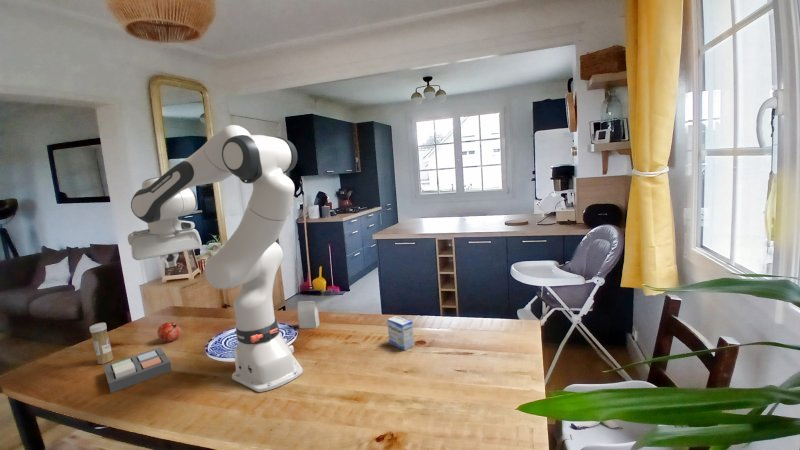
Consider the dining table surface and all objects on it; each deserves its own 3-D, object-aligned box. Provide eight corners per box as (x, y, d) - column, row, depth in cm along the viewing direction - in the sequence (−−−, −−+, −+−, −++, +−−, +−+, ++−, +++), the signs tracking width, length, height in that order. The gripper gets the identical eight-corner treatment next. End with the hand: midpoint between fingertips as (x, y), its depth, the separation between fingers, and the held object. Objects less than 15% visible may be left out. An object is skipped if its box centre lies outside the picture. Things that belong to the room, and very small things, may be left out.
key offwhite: (136, 374, 120) (135, 367, 119) (116, 381, 116) (115, 374, 116) (134, 369, 123) (132, 362, 123) (115, 375, 120) (113, 368, 120)
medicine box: (388, 343, 129) (386, 319, 127) (398, 339, 132) (396, 314, 130) (405, 351, 123) (402, 325, 122) (415, 345, 126) (412, 320, 124)
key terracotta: (163, 368, 124) (161, 361, 124) (144, 375, 121) (143, 368, 121) (160, 363, 128) (158, 356, 128) (142, 369, 125) (140, 362, 124)
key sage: (133, 370, 125) (132, 363, 125) (115, 376, 122) (113, 369, 121) (131, 365, 129) (130, 358, 128) (113, 371, 125) (111, 364, 125)
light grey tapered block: (316, 328, 147) (313, 303, 146) (299, 328, 148) (296, 303, 147) (319, 323, 151) (316, 299, 149) (303, 324, 152) (299, 300, 150)
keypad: (172, 370, 124) (170, 361, 124) (110, 393, 114) (108, 383, 113) (161, 355, 136) (160, 347, 136) (105, 374, 126) (103, 365, 125)
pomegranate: (157, 350, 145) (170, 336, 142) (148, 334, 147) (160, 320, 143) (175, 343, 152) (188, 330, 149) (167, 328, 154) (179, 314, 150)
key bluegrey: (158, 361, 129) (157, 354, 129) (141, 367, 126) (139, 360, 126) (155, 356, 133) (154, 350, 133) (138, 362, 130) (137, 356, 130)
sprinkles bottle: (113, 361, 135) (105, 324, 133) (97, 366, 132) (88, 328, 130) (114, 356, 138) (106, 321, 136) (98, 361, 136) (89, 324, 134)
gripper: (127, 233, 120) (136, 276, 122) (199, 222, 133) (206, 261, 135) (125, 231, 125) (133, 273, 127) (194, 221, 138) (200, 259, 140)
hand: (171, 267), depth 131 cm, fingers closed
